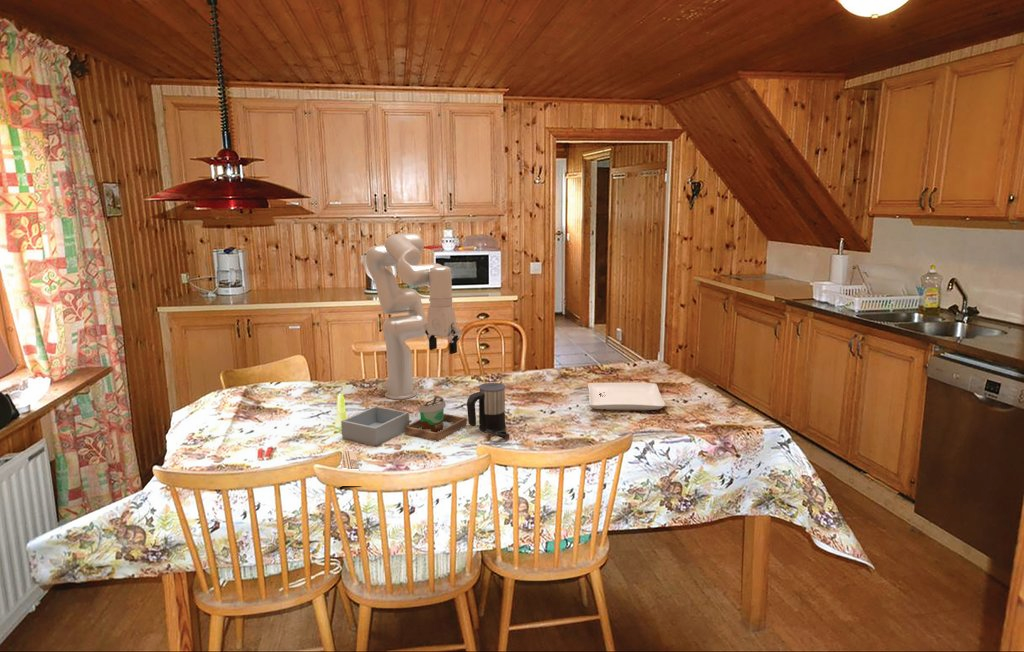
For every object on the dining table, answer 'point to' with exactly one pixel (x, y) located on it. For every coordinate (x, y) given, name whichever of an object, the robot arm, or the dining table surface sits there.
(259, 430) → the dining table surface
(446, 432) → the walnut frame
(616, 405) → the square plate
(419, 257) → the robot arm
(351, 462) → the newspaper
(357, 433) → the grey bin
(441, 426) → the food container
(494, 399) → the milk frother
